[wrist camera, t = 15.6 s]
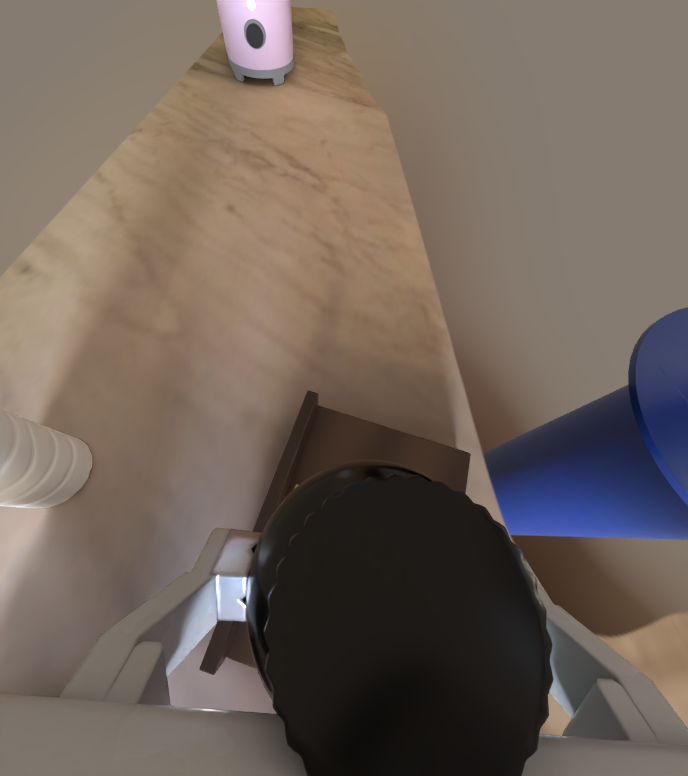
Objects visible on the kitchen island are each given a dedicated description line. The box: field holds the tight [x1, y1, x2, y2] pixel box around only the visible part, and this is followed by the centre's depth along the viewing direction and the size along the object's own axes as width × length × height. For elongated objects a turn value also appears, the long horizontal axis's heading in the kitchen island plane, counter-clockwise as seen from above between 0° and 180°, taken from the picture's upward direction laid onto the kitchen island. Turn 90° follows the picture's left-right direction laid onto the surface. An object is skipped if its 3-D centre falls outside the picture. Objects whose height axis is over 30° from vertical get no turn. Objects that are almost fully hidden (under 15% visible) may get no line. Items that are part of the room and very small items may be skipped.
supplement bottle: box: [246, 459, 554, 776], centre depth 11 cm, size 7×7×12 cm
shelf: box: [200, 391, 471, 675], centre depth 26 cm, size 16×20×6 cm
